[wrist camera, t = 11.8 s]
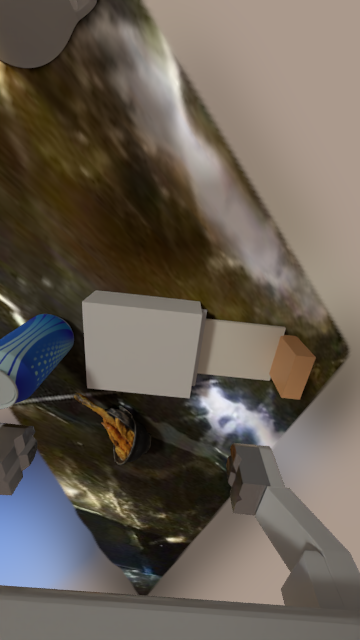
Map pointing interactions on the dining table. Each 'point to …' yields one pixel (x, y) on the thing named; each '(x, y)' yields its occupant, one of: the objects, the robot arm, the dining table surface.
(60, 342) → the beer can
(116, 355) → the block
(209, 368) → the tan-tipped white bar
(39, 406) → the dining table surface
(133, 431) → the fried shrimp in bowl
